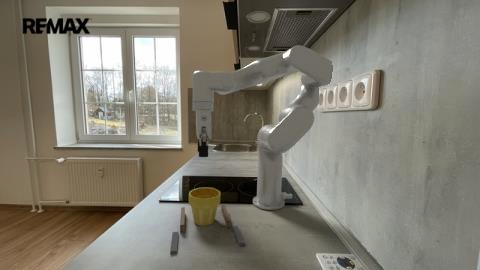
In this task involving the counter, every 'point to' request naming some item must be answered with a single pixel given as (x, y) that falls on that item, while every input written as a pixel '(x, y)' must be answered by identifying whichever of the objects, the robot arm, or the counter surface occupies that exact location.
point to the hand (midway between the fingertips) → (202, 154)
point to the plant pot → (204, 205)
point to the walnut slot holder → (224, 212)
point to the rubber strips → (175, 239)
